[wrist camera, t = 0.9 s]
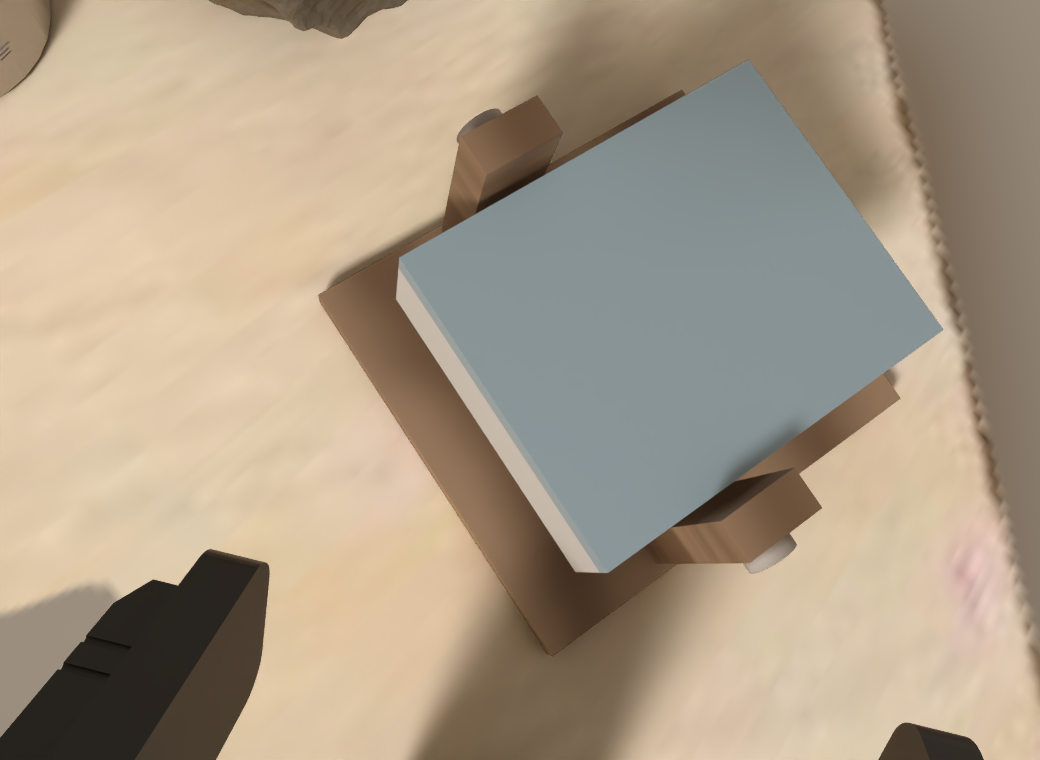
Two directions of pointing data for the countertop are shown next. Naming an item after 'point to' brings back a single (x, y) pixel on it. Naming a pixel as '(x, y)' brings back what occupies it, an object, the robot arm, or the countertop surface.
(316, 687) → the countertop surface
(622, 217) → the trapdoor flap
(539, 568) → the frame
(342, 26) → the grey brown flat block
